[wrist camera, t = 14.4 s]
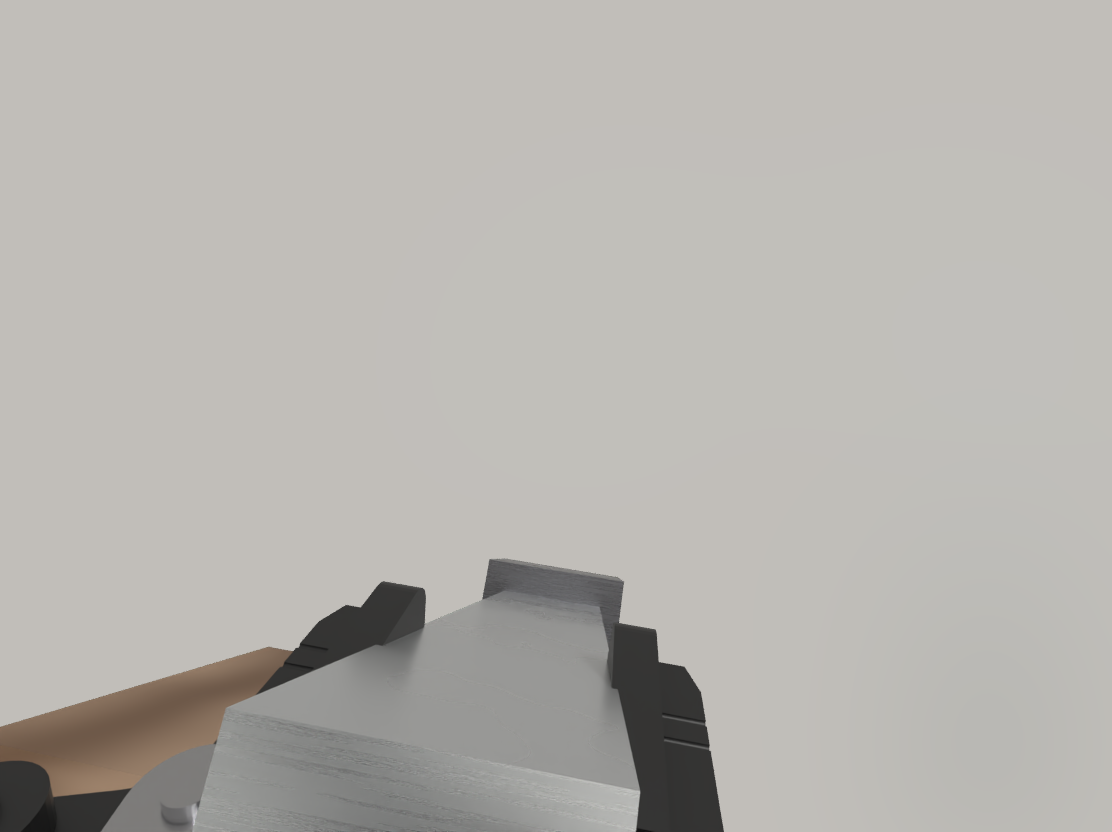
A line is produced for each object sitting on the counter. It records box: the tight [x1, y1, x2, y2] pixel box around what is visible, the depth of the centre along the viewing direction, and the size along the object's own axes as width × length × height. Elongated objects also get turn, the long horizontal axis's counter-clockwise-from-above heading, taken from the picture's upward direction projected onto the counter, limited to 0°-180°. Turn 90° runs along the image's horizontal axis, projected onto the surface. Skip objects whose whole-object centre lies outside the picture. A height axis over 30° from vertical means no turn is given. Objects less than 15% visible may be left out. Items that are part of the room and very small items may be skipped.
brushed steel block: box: [192, 559, 640, 832], centre depth 14 cm, size 5×20×4 cm, turn 176°
